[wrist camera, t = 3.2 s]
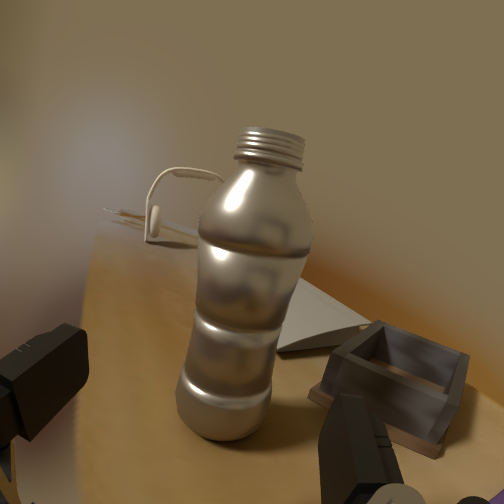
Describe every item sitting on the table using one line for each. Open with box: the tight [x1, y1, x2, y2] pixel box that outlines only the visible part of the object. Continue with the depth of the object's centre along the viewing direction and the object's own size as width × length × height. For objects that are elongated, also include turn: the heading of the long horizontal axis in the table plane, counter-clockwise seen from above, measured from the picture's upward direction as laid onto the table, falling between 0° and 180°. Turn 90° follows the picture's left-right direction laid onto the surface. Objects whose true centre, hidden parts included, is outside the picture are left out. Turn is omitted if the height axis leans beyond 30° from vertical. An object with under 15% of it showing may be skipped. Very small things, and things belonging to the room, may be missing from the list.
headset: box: [145, 167, 225, 241], centre depth 72 cm, size 20×7×18 cm, turn 112°
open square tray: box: [307, 320, 470, 459], centre depth 27 cm, size 13×13×5 cm
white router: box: [276, 278, 372, 352], centre depth 45 cm, size 15×23×4 cm, turn 25°
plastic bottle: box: [175, 127, 314, 441], centre depth 20 cm, size 6×7×20 cm
